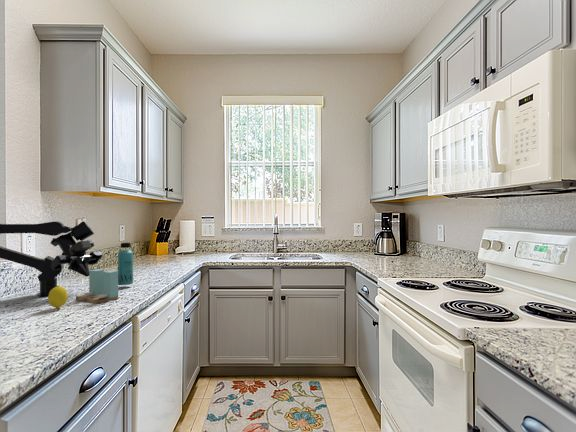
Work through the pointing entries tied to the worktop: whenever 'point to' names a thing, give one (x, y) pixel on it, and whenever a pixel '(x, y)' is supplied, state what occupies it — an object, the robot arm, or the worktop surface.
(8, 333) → the worktop surface
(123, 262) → the beverage bottle
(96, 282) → the block
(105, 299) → the board
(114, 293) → the fixed leg
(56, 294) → the lemon
